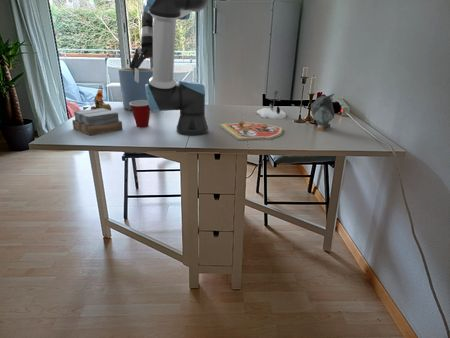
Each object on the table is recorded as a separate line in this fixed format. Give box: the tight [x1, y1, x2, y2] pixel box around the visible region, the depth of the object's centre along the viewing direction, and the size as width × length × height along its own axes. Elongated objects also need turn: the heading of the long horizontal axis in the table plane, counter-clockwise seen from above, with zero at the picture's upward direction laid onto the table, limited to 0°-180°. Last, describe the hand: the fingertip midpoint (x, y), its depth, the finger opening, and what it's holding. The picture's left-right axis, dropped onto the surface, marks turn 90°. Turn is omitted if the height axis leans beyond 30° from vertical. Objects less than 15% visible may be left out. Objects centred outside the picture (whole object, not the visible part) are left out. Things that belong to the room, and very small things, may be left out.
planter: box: [117, 67, 153, 111], centre depth 191 cm, size 23×23×24 cm
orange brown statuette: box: [90, 89, 112, 111], centre depth 165 cm, size 8×21×14 cm, turn 39°
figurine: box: [256, 89, 287, 120], centre depth 185 cm, size 20×18×16 cm
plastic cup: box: [129, 100, 151, 128], centre depth 150 cm, size 11×11×12 cm
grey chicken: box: [310, 93, 335, 131], centre depth 158 cm, size 14×15×18 cm
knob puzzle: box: [218, 120, 283, 141], centre depth 151 cm, size 29×30×4 cm
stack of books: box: [71, 108, 124, 137], centre depth 142 cm, size 16×16×8 cm
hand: (149, 80), depth 149 cm, fingers open, 13 cm apart
